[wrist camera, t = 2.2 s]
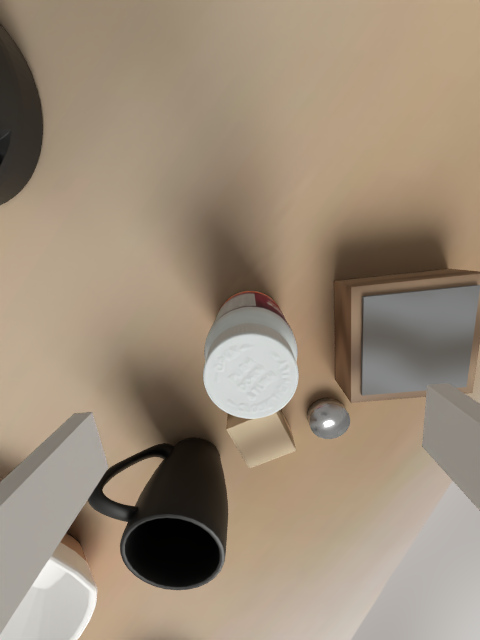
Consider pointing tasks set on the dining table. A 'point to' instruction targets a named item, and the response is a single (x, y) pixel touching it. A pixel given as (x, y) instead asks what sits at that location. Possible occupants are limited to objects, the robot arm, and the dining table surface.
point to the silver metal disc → (328, 418)
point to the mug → (173, 516)
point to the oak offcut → (261, 437)
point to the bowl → (56, 598)
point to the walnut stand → (406, 333)
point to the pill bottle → (250, 357)
